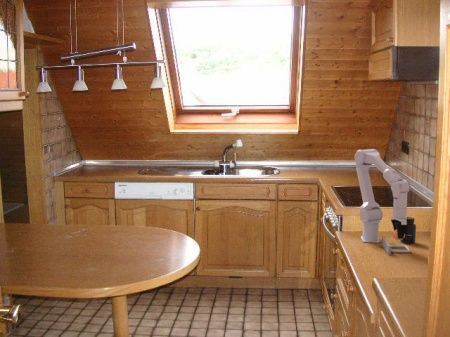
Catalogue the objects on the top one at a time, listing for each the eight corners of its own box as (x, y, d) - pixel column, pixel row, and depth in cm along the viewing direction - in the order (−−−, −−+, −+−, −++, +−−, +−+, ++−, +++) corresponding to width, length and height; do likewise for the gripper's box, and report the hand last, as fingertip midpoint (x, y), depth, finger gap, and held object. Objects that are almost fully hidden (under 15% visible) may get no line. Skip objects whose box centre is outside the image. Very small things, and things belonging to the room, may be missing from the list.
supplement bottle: (405, 245, 243) (406, 219, 241) (397, 241, 249) (398, 216, 248) (418, 243, 245) (419, 218, 243) (409, 240, 251) (410, 215, 250)
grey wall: (381, 244, 244) (381, 236, 243) (383, 244, 244) (384, 236, 243) (388, 254, 228) (388, 245, 227) (390, 254, 228) (390, 245, 227)
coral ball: (391, 238, 237) (392, 227, 236) (402, 238, 237) (403, 227, 236) (394, 241, 232) (395, 230, 231) (406, 241, 232) (406, 230, 231)
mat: (385, 246, 241) (385, 244, 241) (405, 246, 240) (406, 244, 240) (390, 253, 230) (390, 250, 230) (411, 253, 229) (411, 251, 229)
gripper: (386, 203, 240) (385, 232, 242) (395, 210, 226) (394, 241, 227) (402, 203, 239) (401, 232, 241) (411, 210, 225) (410, 241, 227)
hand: (398, 236), depth 234 cm, fingers closed on coral ball, 5 cm apart
